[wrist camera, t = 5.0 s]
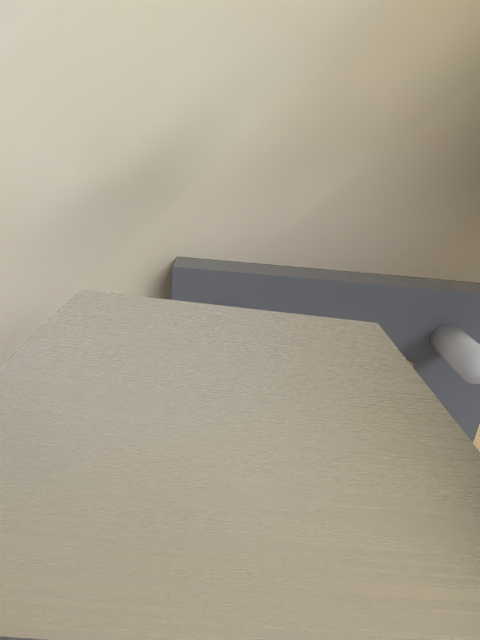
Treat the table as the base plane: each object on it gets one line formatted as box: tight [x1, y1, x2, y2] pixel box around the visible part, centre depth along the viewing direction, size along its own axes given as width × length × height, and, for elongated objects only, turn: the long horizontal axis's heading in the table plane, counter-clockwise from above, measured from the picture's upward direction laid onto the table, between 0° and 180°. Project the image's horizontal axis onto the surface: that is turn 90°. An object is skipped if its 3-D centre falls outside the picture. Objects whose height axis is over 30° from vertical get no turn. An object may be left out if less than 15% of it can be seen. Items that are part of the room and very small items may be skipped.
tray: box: [171, 257, 480, 443], centre depth 19 cm, size 13×16×4 cm
